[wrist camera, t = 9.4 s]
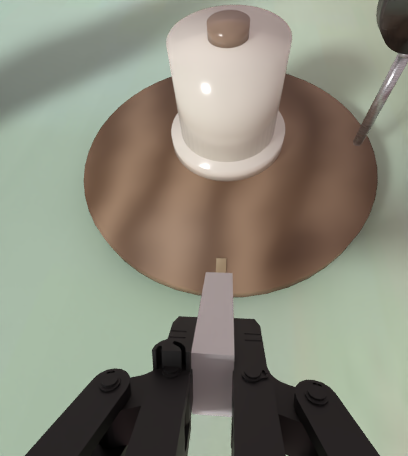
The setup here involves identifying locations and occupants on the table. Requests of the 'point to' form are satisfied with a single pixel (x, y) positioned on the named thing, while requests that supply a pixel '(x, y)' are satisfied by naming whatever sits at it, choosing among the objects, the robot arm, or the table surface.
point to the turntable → (231, 196)
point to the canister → (228, 90)
